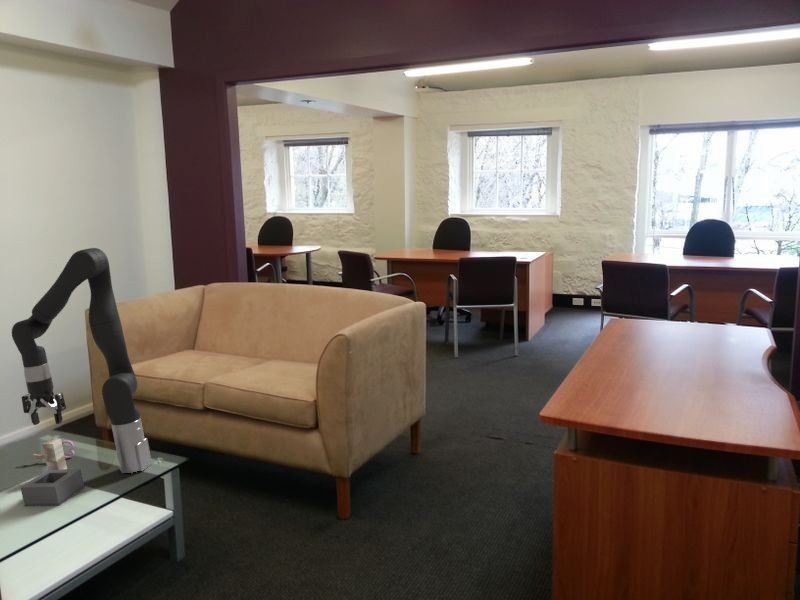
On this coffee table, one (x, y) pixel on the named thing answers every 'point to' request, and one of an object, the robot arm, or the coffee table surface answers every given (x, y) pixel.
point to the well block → (52, 487)
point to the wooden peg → (54, 454)
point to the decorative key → (64, 455)
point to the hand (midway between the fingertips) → (47, 423)
